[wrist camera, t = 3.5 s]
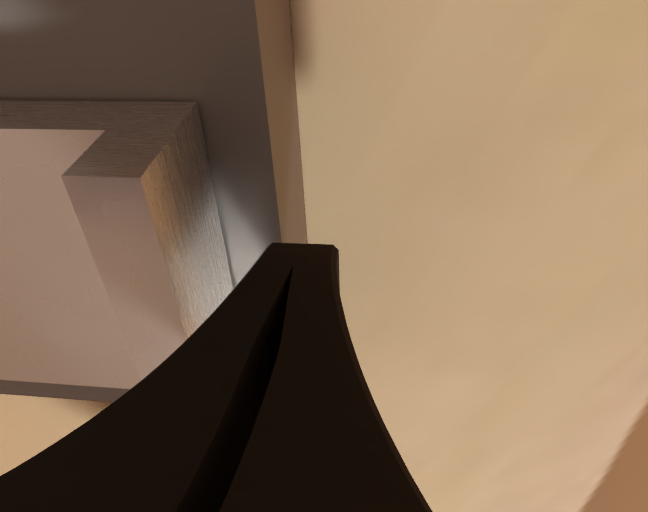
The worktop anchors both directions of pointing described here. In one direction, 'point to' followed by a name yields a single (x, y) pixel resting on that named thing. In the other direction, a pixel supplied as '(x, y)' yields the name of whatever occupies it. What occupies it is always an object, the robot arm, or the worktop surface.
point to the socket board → (177, 86)
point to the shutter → (104, 239)
